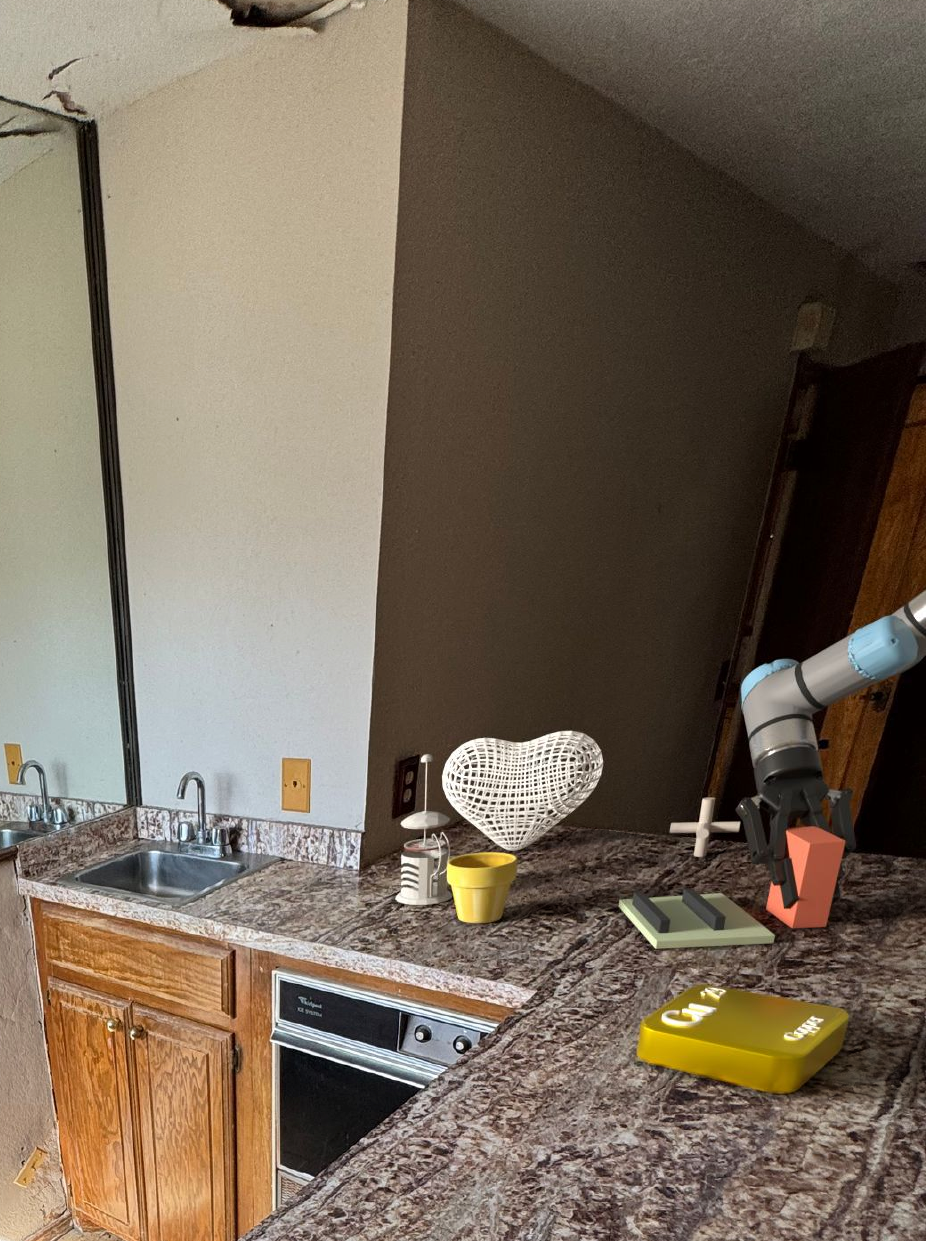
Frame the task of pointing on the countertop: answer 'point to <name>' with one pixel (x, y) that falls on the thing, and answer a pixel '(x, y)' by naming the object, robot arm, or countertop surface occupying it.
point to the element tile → (743, 1037)
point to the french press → (425, 859)
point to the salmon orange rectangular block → (809, 877)
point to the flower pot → (481, 884)
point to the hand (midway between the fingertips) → (811, 902)
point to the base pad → (693, 921)
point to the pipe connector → (704, 827)
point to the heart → (530, 745)
